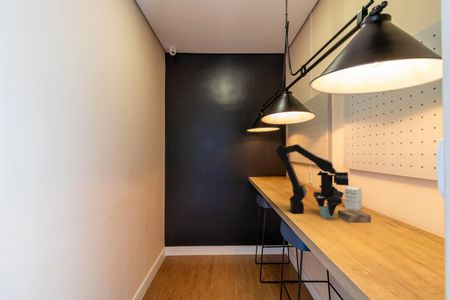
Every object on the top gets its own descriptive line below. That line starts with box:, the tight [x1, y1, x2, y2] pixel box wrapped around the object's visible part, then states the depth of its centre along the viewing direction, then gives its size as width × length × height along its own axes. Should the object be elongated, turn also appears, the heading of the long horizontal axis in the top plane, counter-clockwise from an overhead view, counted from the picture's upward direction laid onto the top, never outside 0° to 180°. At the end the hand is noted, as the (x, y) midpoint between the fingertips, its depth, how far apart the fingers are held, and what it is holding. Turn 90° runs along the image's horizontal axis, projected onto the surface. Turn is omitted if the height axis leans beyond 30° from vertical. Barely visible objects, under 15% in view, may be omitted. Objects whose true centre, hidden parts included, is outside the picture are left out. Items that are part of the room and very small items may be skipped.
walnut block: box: [337, 209, 372, 224], centre depth 114 cm, size 11×10×4 cm
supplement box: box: [344, 186, 363, 211], centre depth 136 cm, size 7×7×13 cm
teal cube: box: [319, 205, 335, 219], centre depth 119 cm, size 5×5×5 cm
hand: (326, 213), depth 120 cm, fingers open, 9 cm apart
